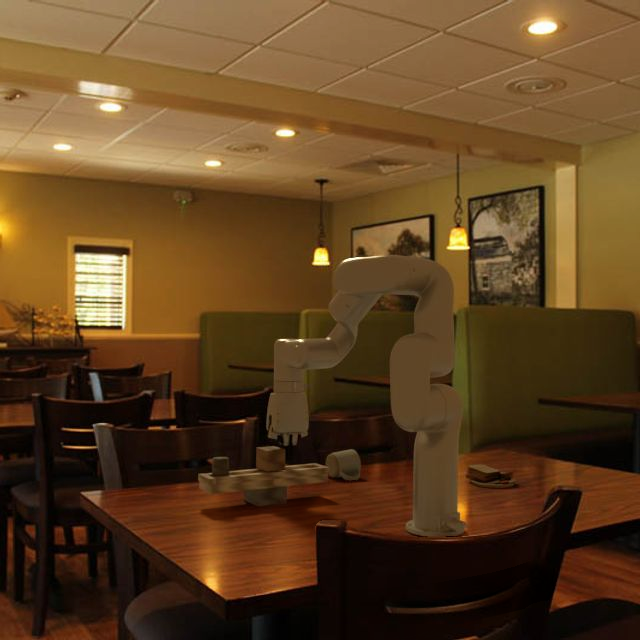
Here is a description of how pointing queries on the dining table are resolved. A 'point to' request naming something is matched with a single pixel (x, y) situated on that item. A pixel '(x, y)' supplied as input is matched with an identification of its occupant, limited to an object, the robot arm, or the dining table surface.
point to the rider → (270, 458)
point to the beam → (260, 481)
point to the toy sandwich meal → (489, 477)
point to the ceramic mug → (344, 465)
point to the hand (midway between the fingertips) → (287, 460)
